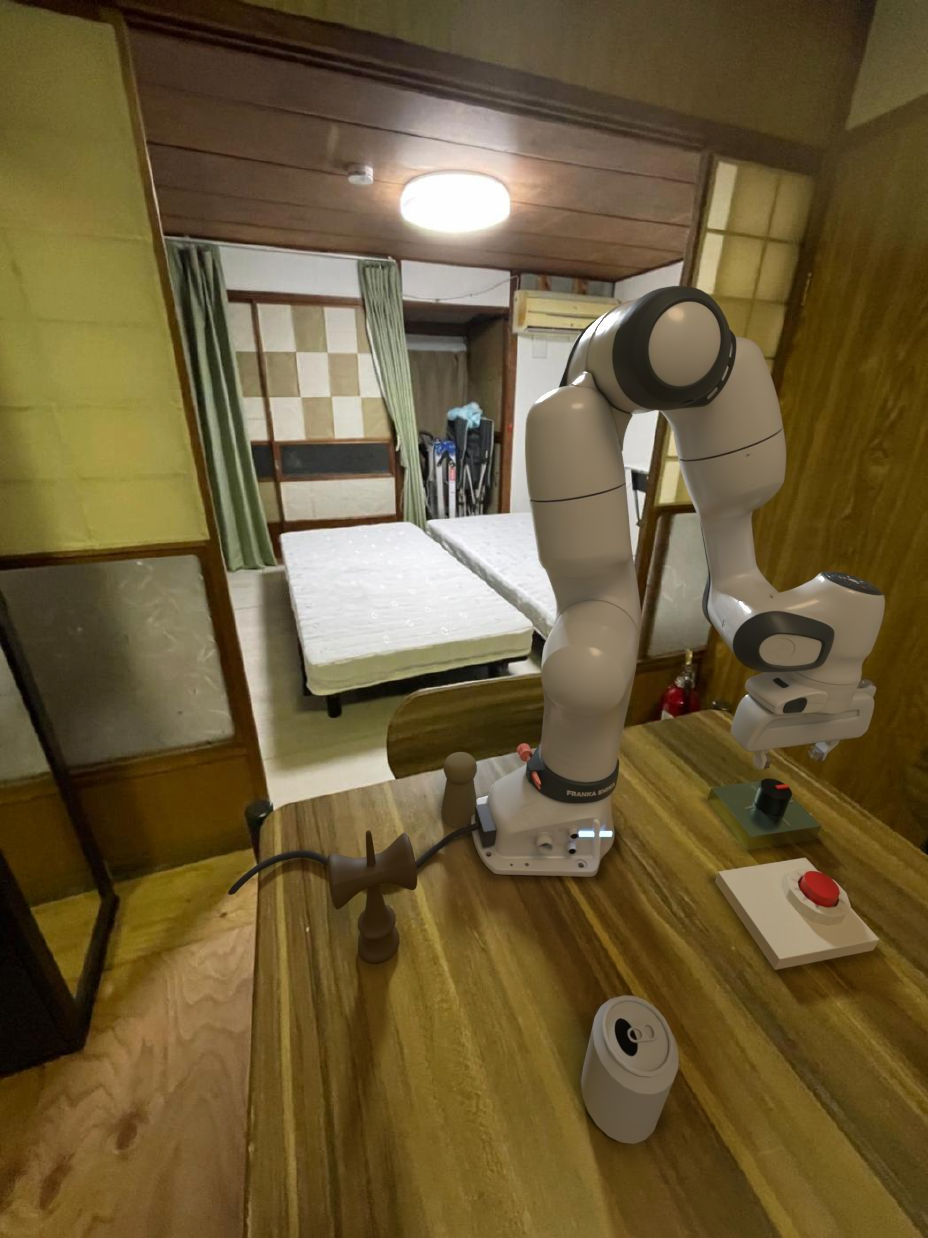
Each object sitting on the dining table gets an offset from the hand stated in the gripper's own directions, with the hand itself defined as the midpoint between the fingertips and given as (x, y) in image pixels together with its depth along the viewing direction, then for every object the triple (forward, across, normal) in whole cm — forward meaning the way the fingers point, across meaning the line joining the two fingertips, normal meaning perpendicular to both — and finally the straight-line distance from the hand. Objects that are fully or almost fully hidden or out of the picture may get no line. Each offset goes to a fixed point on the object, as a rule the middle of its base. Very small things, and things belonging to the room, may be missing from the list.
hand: (788, 762), depth 78 cm
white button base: (+12, +9, +15) cm, 21 cm away
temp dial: (+9, 0, 0) cm, 9 cm away
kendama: (+11, +62, +10) cm, 64 cm away
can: (+12, +40, +29) cm, 50 cm away
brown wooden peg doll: (+11, +49, -10) cm, 51 cm away
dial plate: (+12, +2, 0) cm, 12 cm away
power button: (+8, +6, +15) cm, 18 cm away
